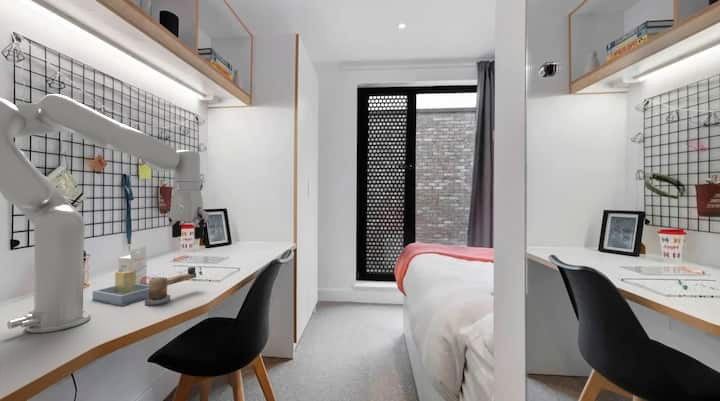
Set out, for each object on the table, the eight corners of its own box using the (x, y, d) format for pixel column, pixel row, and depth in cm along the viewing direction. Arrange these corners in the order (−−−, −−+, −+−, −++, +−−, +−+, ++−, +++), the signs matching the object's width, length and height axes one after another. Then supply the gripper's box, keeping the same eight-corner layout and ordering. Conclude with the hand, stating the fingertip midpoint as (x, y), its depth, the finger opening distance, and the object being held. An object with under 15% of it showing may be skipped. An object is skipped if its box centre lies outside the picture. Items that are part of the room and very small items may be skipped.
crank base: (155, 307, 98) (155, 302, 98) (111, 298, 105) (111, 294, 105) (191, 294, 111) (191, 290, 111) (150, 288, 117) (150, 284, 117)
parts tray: (120, 305, 99) (121, 296, 98) (92, 300, 103) (92, 291, 103) (155, 295, 109) (155, 286, 109) (128, 290, 114) (129, 282, 114)
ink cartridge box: (134, 282, 124) (135, 245, 124) (146, 283, 124) (147, 246, 123) (117, 289, 115) (117, 249, 115) (130, 289, 115) (131, 249, 115)
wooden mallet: (156, 299, 99) (156, 278, 99) (145, 297, 101) (145, 276, 101) (199, 286, 115) (199, 267, 115) (188, 284, 117) (189, 266, 117)
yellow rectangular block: (123, 297, 104) (123, 273, 104) (115, 296, 105) (115, 272, 105) (135, 294, 107) (135, 271, 107) (127, 292, 109) (127, 269, 109)
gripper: (158, 187, 105) (158, 238, 105) (198, 187, 99) (198, 240, 100) (177, 187, 112) (178, 235, 112) (216, 187, 106) (216, 237, 107)
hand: (187, 237), depth 106 cm, fingers open, 9 cm apart
